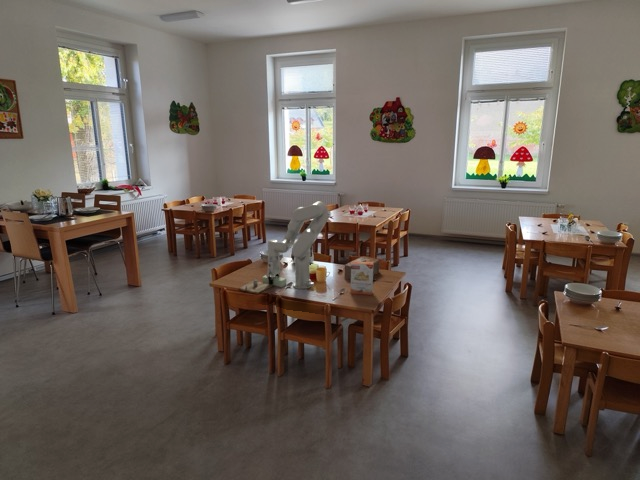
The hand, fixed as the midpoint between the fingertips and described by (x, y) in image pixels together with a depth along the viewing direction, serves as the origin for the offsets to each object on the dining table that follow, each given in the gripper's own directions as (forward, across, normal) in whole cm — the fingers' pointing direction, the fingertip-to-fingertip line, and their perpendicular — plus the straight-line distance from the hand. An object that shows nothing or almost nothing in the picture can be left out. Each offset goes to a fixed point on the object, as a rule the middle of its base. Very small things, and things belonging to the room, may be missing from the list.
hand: (274, 282), depth 291 cm
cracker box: (+1, +14, -59) cm, 61 cm away
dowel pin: (0, -19, +9) cm, 21 cm away
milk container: (+1, +49, +7) cm, 49 cm away
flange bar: (+1, 0, 0) cm, 1 cm away
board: (+1, -13, +6) cm, 14 cm away
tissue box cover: (+1, +47, -45) cm, 65 cm away
